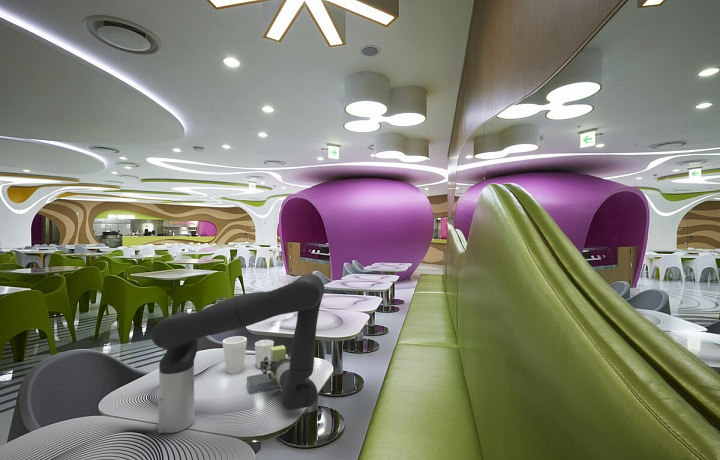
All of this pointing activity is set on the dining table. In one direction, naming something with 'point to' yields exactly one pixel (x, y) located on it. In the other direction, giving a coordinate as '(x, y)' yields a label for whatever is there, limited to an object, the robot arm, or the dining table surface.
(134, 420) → the dining table surface
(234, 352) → the foam cup
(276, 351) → the olive green rectangular block
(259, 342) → the white cup
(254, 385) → the grey flat block
